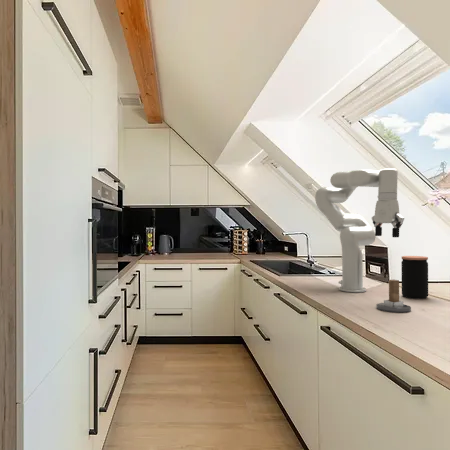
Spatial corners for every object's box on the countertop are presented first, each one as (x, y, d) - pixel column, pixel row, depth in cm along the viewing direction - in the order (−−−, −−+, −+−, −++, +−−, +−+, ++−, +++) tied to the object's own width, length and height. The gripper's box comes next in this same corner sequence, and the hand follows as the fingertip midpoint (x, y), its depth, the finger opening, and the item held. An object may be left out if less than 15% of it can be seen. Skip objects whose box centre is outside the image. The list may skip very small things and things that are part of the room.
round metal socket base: (369, 307, 143) (369, 299, 143) (392, 304, 148) (392, 296, 148) (394, 314, 132) (394, 305, 132) (418, 310, 137) (418, 302, 137)
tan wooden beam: (389, 305, 141) (388, 279, 141) (393, 305, 141) (393, 279, 142) (394, 307, 138) (394, 280, 138) (399, 306, 139) (399, 280, 139)
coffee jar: (419, 294, 169) (419, 255, 169) (433, 299, 159) (433, 257, 159) (397, 294, 169) (396, 255, 169) (409, 299, 158) (409, 258, 158)
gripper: (366, 198, 166) (365, 235, 166) (396, 196, 149) (396, 238, 150) (379, 198, 168) (378, 235, 169) (410, 196, 152) (409, 237, 153)
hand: (386, 236), depth 159 cm, fingers open, 9 cm apart
